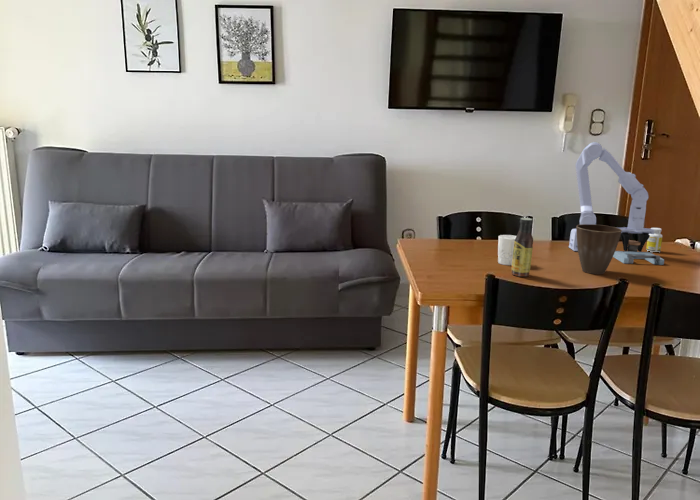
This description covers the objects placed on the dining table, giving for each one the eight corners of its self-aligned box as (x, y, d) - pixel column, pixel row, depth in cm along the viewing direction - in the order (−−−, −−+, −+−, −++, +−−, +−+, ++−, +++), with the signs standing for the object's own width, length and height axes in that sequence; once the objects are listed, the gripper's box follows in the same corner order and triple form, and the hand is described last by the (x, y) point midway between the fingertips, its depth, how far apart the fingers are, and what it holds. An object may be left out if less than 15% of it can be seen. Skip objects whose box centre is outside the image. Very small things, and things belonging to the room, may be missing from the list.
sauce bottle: (508, 272, 213) (513, 216, 209) (525, 272, 214) (531, 216, 209) (514, 277, 207) (520, 219, 202) (532, 277, 207) (538, 220, 203)
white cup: (518, 262, 229) (521, 236, 227) (517, 266, 222) (519, 239, 220) (497, 259, 232) (499, 234, 230) (495, 264, 225) (497, 237, 222)
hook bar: (628, 263, 232) (629, 255, 231) (626, 262, 234) (627, 254, 233) (659, 264, 232) (660, 256, 231) (657, 263, 233) (658, 255, 233)
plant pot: (579, 264, 228) (584, 222, 225) (621, 271, 219) (627, 228, 216) (565, 271, 217) (570, 227, 214) (608, 279, 208) (614, 233, 204)
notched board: (623, 263, 232) (624, 258, 232) (610, 255, 245) (611, 250, 244) (663, 264, 232) (664, 259, 231) (648, 256, 244) (649, 252, 244)
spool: (627, 256, 245) (629, 242, 244) (622, 253, 250) (624, 240, 249) (640, 256, 245) (642, 243, 244) (635, 253, 250) (637, 240, 249)
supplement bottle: (657, 250, 257) (660, 227, 255) (662, 253, 252) (665, 230, 250) (643, 249, 258) (647, 227, 256) (648, 252, 253) (652, 229, 250)
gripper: (622, 218, 240) (617, 252, 243) (659, 220, 240) (654, 253, 243) (615, 215, 247) (611, 248, 250) (651, 217, 247) (647, 249, 250)
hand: (632, 250), depth 247 cm, fingers closed on spool, 5 cm apart
